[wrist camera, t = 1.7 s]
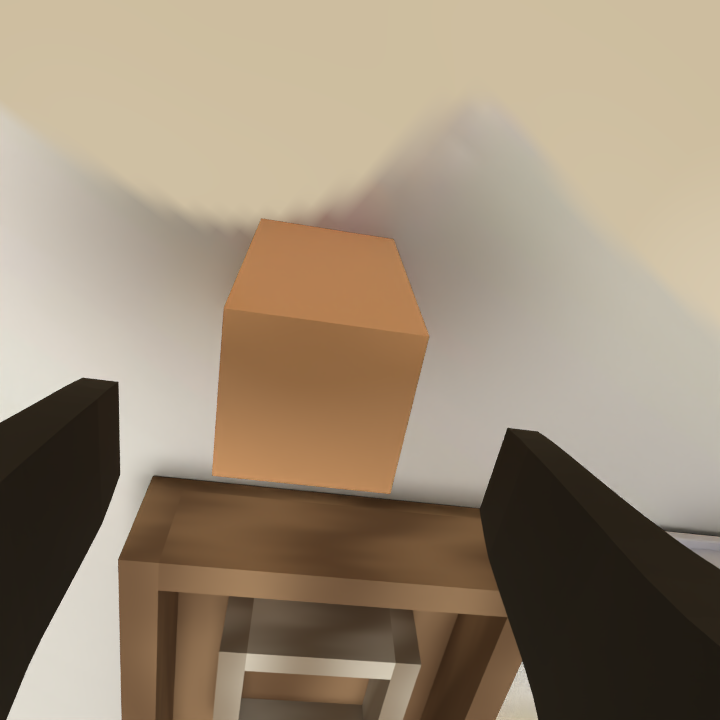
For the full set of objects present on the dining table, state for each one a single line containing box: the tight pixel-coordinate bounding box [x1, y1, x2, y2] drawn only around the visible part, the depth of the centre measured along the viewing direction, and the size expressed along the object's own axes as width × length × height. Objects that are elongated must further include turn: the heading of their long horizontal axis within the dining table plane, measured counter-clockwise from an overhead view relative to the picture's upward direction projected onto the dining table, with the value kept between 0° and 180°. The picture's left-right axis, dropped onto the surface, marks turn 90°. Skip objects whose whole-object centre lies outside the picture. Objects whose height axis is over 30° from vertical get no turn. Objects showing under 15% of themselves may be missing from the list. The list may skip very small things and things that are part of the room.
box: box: [118, 476, 522, 720], centre depth 24 cm, size 14×18×4 cm
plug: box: [212, 218, 429, 494], centre depth 15 cm, size 4×4×7 cm
